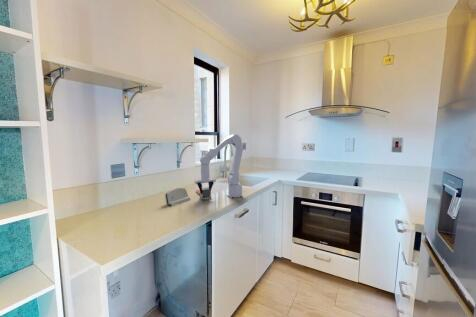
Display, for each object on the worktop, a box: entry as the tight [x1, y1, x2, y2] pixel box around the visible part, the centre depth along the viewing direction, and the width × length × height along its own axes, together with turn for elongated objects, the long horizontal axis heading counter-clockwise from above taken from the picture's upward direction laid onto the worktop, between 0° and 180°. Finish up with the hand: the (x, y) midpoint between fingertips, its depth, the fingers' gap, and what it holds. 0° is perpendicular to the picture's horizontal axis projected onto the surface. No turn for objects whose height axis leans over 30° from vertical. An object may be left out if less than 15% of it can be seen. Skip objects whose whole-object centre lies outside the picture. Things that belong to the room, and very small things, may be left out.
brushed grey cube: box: [201, 186, 212, 197], centre depth 145 cm, size 6×6×5 cm
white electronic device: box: [164, 187, 191, 207], centre depth 138 cm, size 17×5×10 cm, turn 148°
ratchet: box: [195, 189, 212, 201], centre depth 153 cm, size 8×25×5 cm, turn 24°
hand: (205, 193), depth 145 cm, fingers closed on brushed grey cube, 5 cm apart
